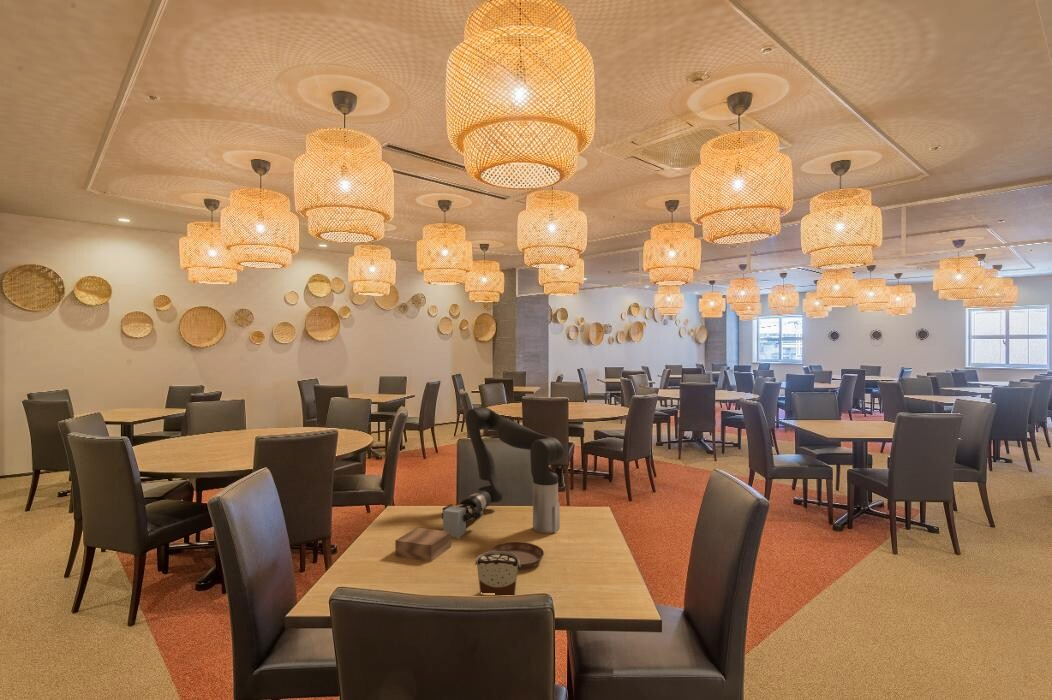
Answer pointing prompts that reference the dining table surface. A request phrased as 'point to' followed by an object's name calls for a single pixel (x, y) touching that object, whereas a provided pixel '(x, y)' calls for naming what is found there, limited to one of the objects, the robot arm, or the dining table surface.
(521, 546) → the plant saucer
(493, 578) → the cake slice
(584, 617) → the dining table surface
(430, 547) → the walnut block
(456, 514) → the slate block
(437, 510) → the dining table surface
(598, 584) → the dining table surface
